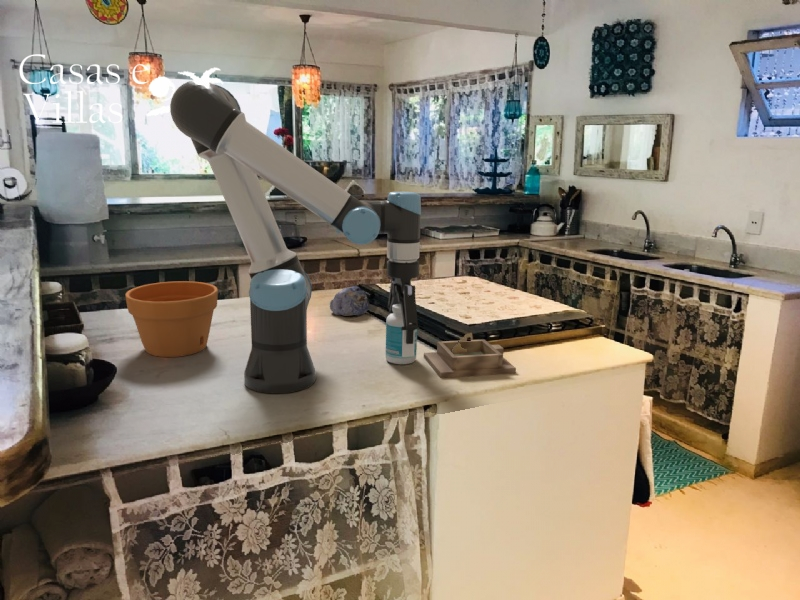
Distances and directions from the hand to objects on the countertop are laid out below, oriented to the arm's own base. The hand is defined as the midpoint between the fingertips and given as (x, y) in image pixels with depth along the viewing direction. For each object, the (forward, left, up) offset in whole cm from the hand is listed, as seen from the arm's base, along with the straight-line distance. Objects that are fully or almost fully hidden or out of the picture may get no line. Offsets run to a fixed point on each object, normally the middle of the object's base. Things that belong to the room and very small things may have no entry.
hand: (401, 347), depth 154 cm
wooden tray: (+15, -6, -3) cm, 16 cm away
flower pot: (-53, +18, -4) cm, 56 cm away
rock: (-6, +45, -4) cm, 46 cm away
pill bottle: (0, 0, -4) cm, 4 cm away
